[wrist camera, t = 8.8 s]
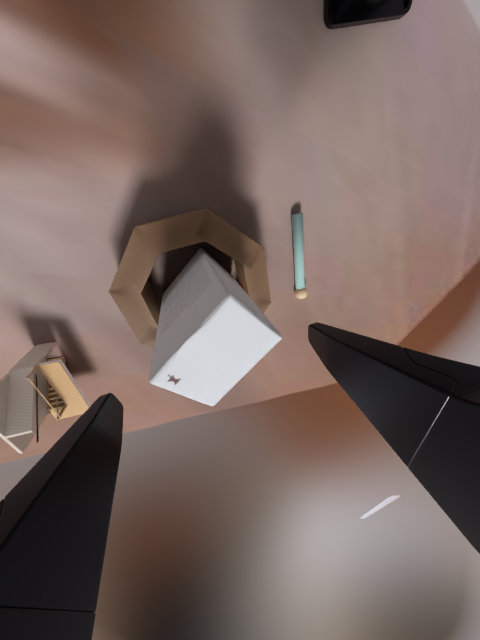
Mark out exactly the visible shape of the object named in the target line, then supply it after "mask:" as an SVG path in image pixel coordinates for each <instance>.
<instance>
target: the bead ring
mask: <svg viewBox="0 0 480 640" xmlns="http://www.w3.org/2000/svg"><path fill="white" fill-rule="evenodd" d="M204 241H206V242H207V243H209V244H211V245H212V246H214V247H215V248H217V249H219V250H220V251H222V252H224V253H225V254H227V255H228V256H230V257H232V258H233V259H234V262H235V266H236V271H237V276H238V280H239V285H240V286H241V287H242V288H243V290H244V291H245V292H246V293H247V294H248V296H249V297H250V298H251V299H252V300H253V302H254V303H255V304H256V305H257V306H258V308H259V309H260V310H261V311H262V312H263V313H264V312H265V310H266V309H267V307H268V306H269V305H270V303H271V299H270V292H269V284H268V277H267V269H266V262H265V254H264V248H263V247H261V246H260V245H259V244H257V243H256V242H254V241H253V240H252V239H250V238H249V237H247V236H246V235H245V234H243V233H242V232H240V231H239V230H237V229H236V228H235V227H233V226H232V225H230V224H229V223H228V222H226V221H225V220H223V219H222V218H221V217H219V216H218V215H216V214H215V213H213V212H212V211H211V210H209V209H200V210H196V211H191V212H187V213H183V214H179V215H175V216H171V217H167V218H163V219H159V220H155V221H151V222H147V223H143V224H140V225H138V226H136V227H134V230H133V232H132V235H131V237H130V240H129V242H128V245H127V247H126V250H125V252H124V255H123V257H122V260H121V262H120V265H119V268H118V270H117V273H116V275H115V278H114V280H113V283H112V285H111V288H110V290H109V292H110V294H111V296H112V297H113V299H114V301H115V302H116V304H117V306H118V307H119V309H120V310H121V312H122V314H123V315H124V317H125V319H126V320H127V322H128V323H129V325H130V327H131V328H132V330H133V332H134V333H135V335H136V336H137V338H138V340H139V341H140V343H141V344H143V345H147V346H150V347H153V348H154V347H155V340H156V334H157V328H158V322H159V315H160V309H161V308H160V306H159V304H158V302H157V300H156V298H155V296H154V294H153V292H152V290H151V287H150V285H149V283H148V281H147V279H148V277H149V275H150V272H151V270H152V268H153V266H154V264H155V261H156V259H157V257H158V255H159V253H163V252H167V251H170V250H174V249H178V248H182V247H185V246H189V245H193V244H197V243H200V242H204Z"/></svg>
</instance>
